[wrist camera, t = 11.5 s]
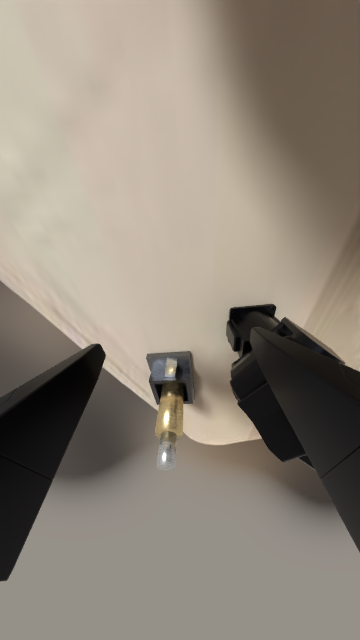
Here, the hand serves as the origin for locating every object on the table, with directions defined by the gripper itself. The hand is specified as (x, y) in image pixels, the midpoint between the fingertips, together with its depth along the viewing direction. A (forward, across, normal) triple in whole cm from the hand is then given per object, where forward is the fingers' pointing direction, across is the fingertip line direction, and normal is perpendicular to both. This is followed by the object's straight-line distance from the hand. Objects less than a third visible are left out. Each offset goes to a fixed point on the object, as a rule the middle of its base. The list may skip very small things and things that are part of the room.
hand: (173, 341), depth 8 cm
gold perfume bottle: (+12, +4, +20) cm, 23 cm away
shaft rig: (+13, +4, +20) cm, 24 cm away
